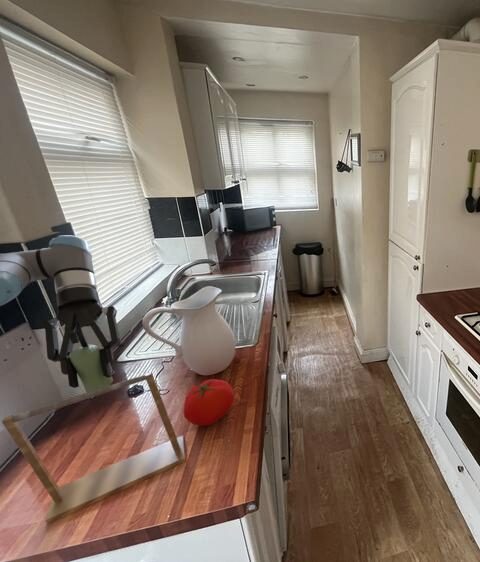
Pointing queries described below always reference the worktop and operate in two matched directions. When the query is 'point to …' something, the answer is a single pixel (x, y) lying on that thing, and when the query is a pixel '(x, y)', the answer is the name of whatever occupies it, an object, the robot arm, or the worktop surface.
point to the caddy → (87, 361)
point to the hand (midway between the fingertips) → (91, 380)
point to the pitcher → (199, 332)
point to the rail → (109, 477)
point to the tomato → (208, 402)
